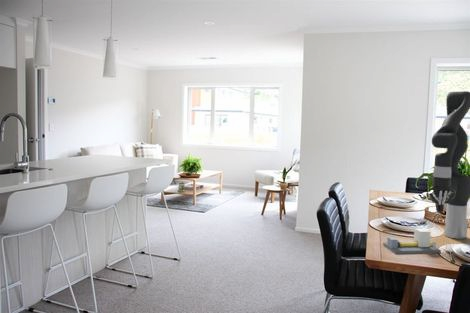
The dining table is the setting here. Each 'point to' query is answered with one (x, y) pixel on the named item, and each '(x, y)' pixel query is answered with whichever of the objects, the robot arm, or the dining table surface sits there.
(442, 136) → the robot arm
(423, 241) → the sleeve
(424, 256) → the dining table surface
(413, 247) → the linear slide rail
